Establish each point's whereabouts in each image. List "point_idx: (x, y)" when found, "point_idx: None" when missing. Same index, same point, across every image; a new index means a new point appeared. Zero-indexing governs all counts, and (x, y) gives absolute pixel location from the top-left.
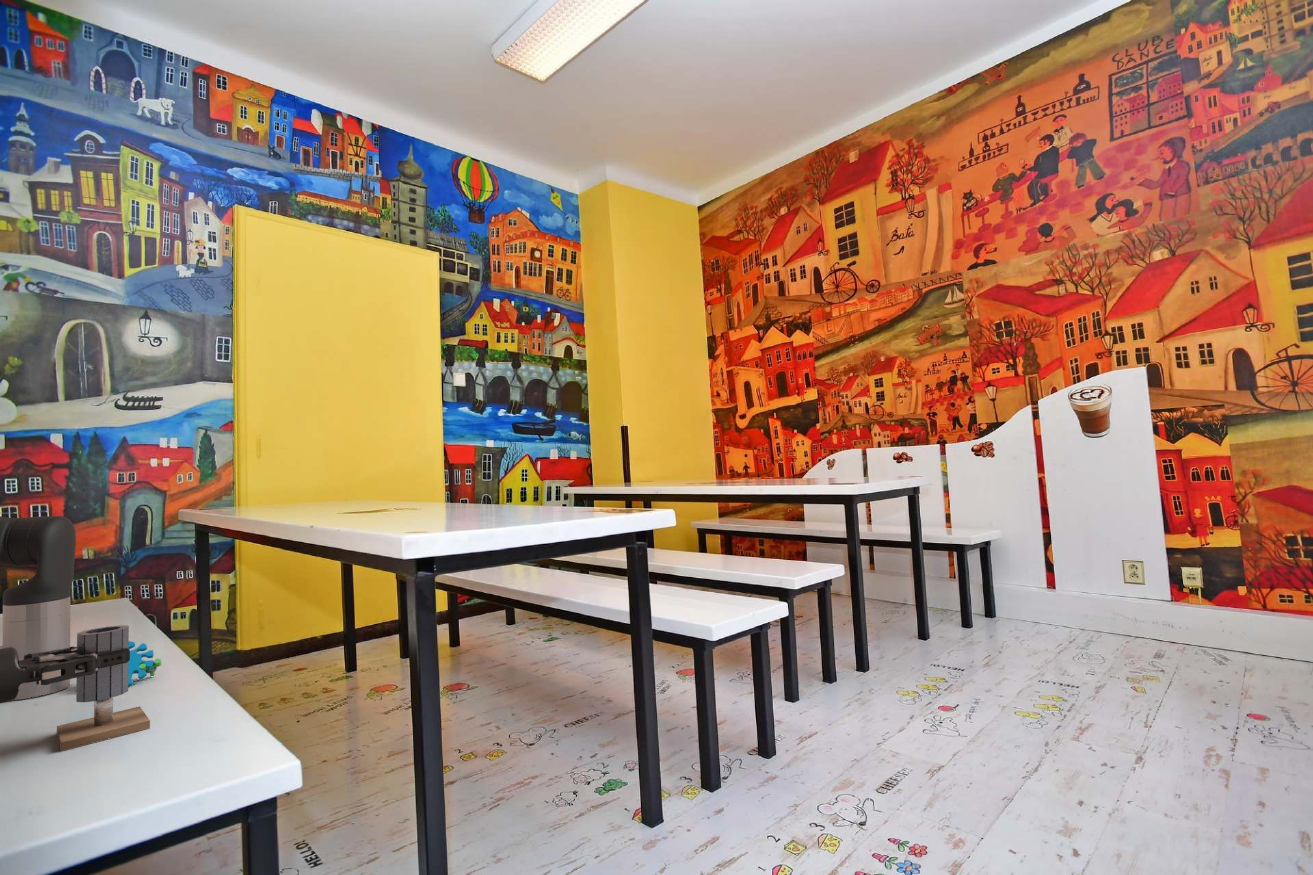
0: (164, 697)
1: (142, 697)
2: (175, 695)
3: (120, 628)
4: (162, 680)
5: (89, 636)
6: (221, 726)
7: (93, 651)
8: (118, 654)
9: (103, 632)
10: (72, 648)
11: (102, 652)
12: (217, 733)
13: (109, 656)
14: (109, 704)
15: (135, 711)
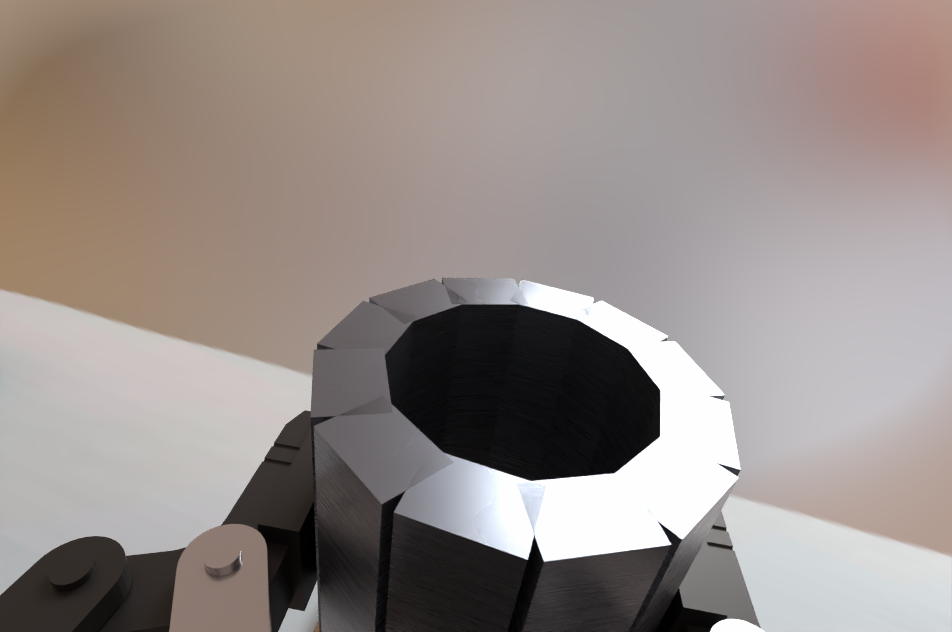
0: (249, 456)
1: (140, 474)
2: (275, 437)
3: (613, 328)
4: (41, 366)
5: (699, 530)
6: (801, 559)
7: (659, 613)
8: (718, 527)
9: (711, 428)
10: (112, 585)
11: (687, 577)
12: (876, 600)
13: (738, 580)
14: None
15: None
